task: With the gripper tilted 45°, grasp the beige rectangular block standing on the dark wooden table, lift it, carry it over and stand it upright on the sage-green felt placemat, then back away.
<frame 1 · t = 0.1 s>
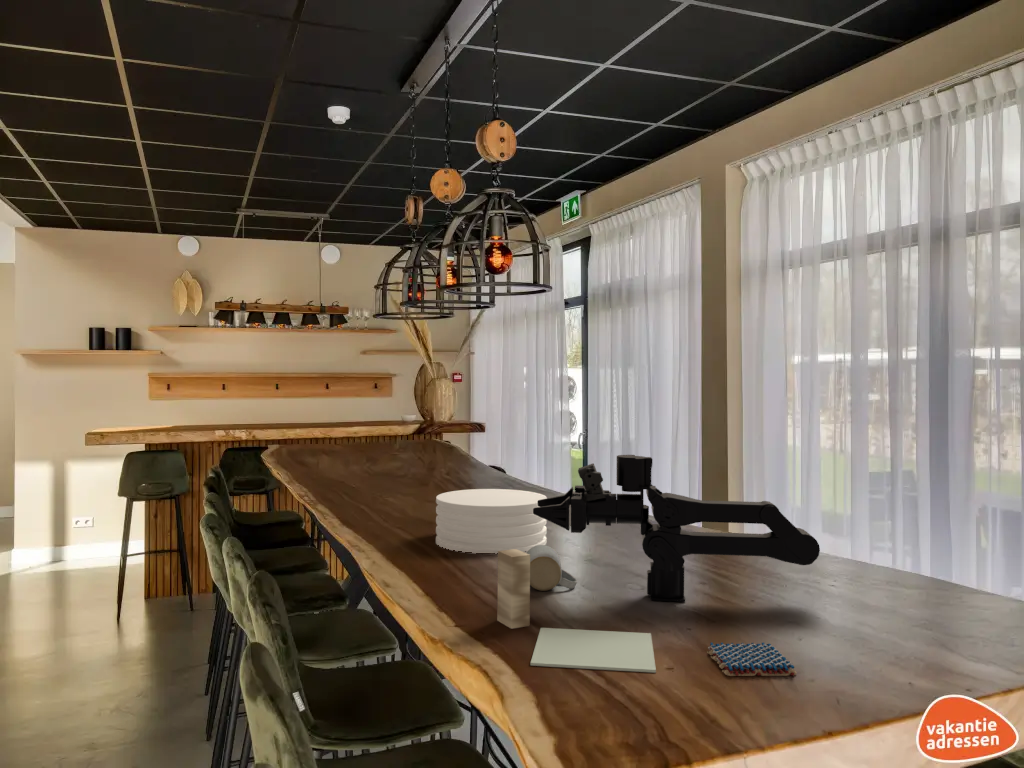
hand: (535, 506, 153), 17 cm above the table, tool horizontal, fingers open, 9 cm apart
beige rectangular block: (513, 623, 134), on the table
woven mat: (749, 667, 116), on the table
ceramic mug: (549, 587, 157), on the table
plate stack: (491, 542, 199), on the table
sage placemat: (594, 649, 121), on the table
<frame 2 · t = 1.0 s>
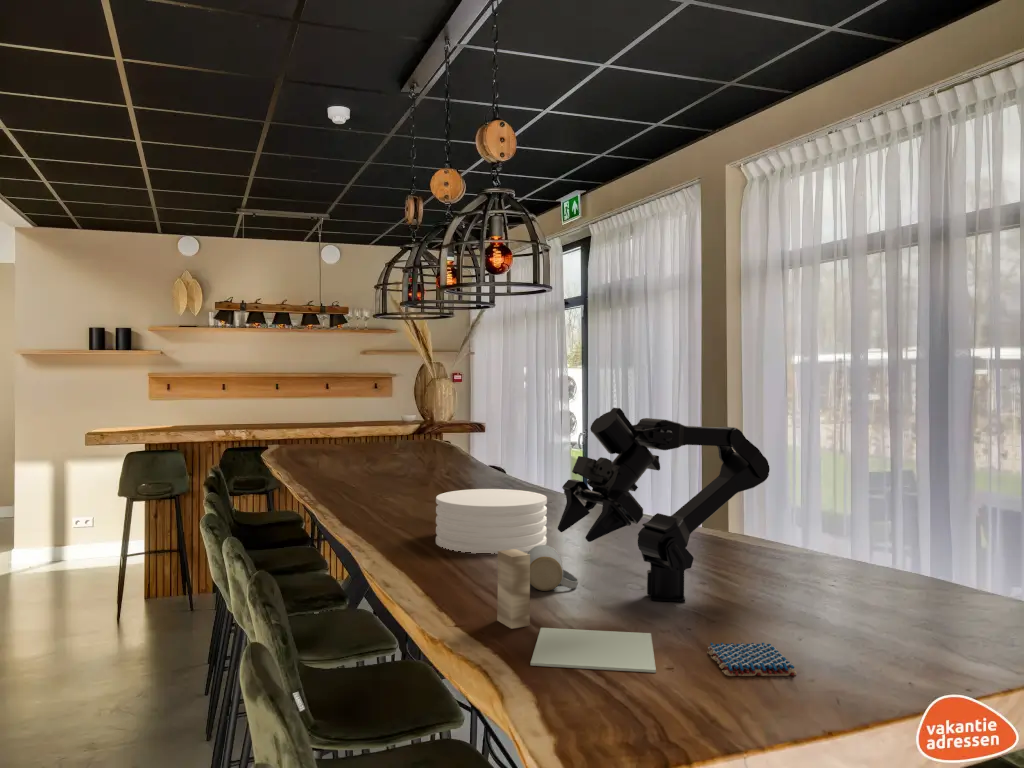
hand: (572, 535, 140), 14 cm above the table, tool tilted 45°, fingers open, 9 cm apart
nothing on the table moved.
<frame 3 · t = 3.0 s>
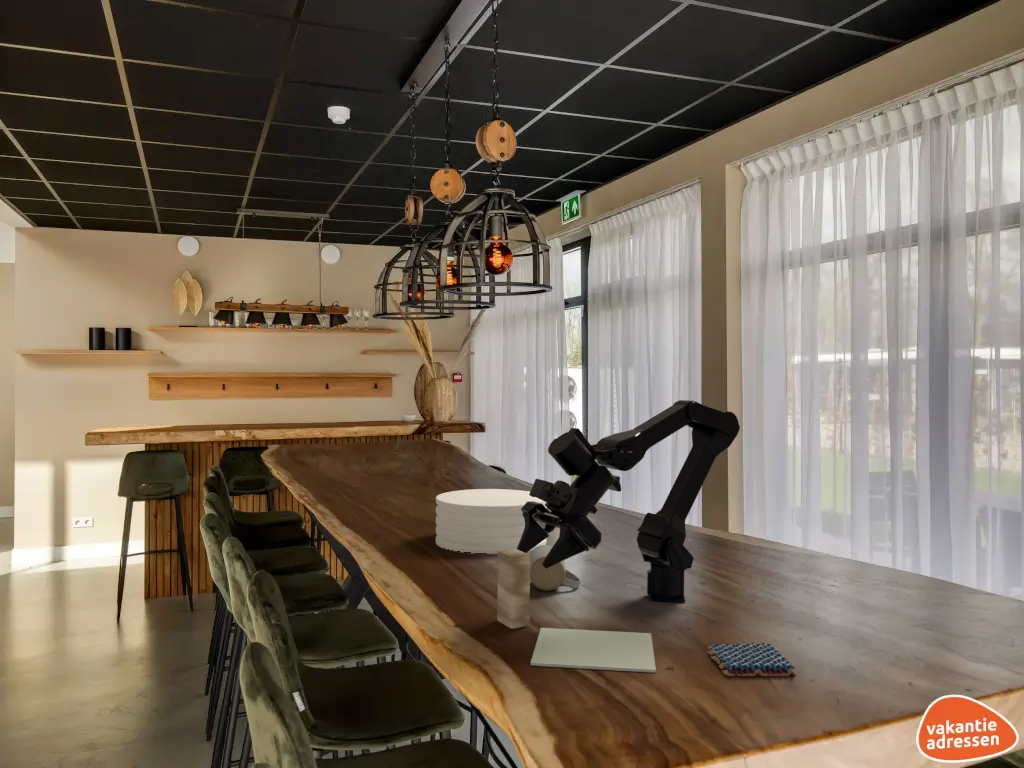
hand: (530, 560, 135), 10 cm above the table, tool tilted 45°, fingers open, 9 cm apart
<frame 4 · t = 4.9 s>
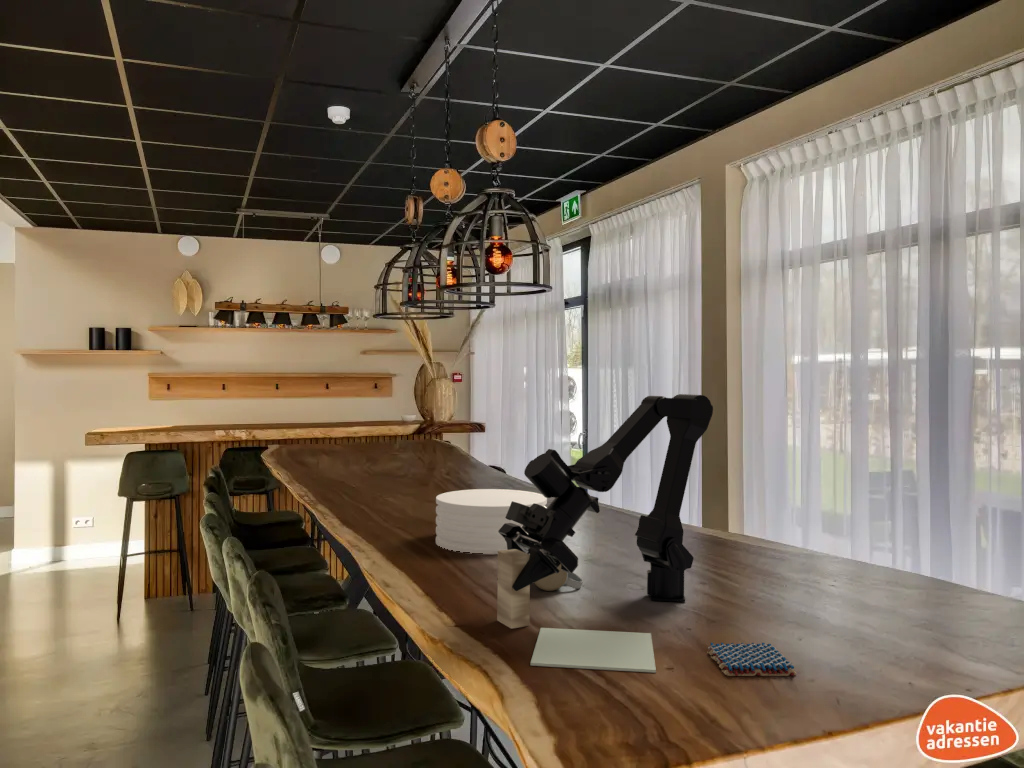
hand: (506, 585, 133), 7 cm above the table, tool tilted 45°, fingers closed on beige rectangular block, 5 cm apart
beige rectangular block: (513, 623, 134), on the table, touching gripper
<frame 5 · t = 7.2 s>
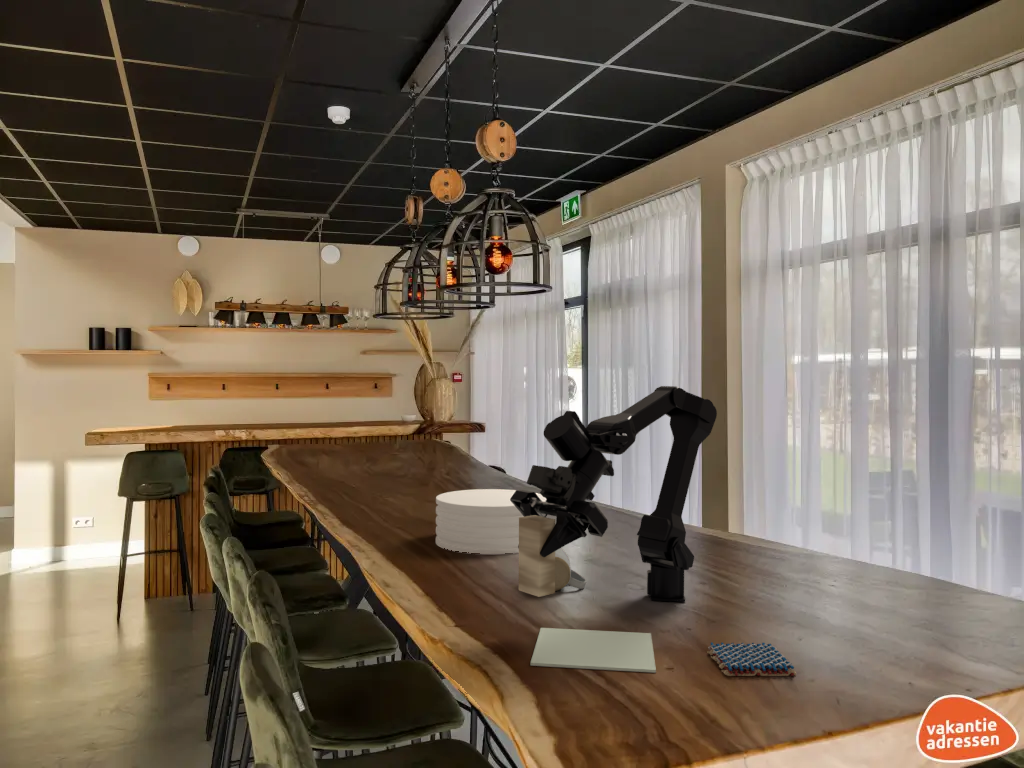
hand: (530, 552, 127), 14 cm above the table, tool tilted 45°, fingers closed on beige rectangular block, 5 cm apart
beige rectangular block: (536, 591, 128), point 7 cm above the table, touching gripper
when the fingers open (9 cm above the table, at t = 9.7 s): beige rectangular block drops 2 cm, resting on sage placemat.
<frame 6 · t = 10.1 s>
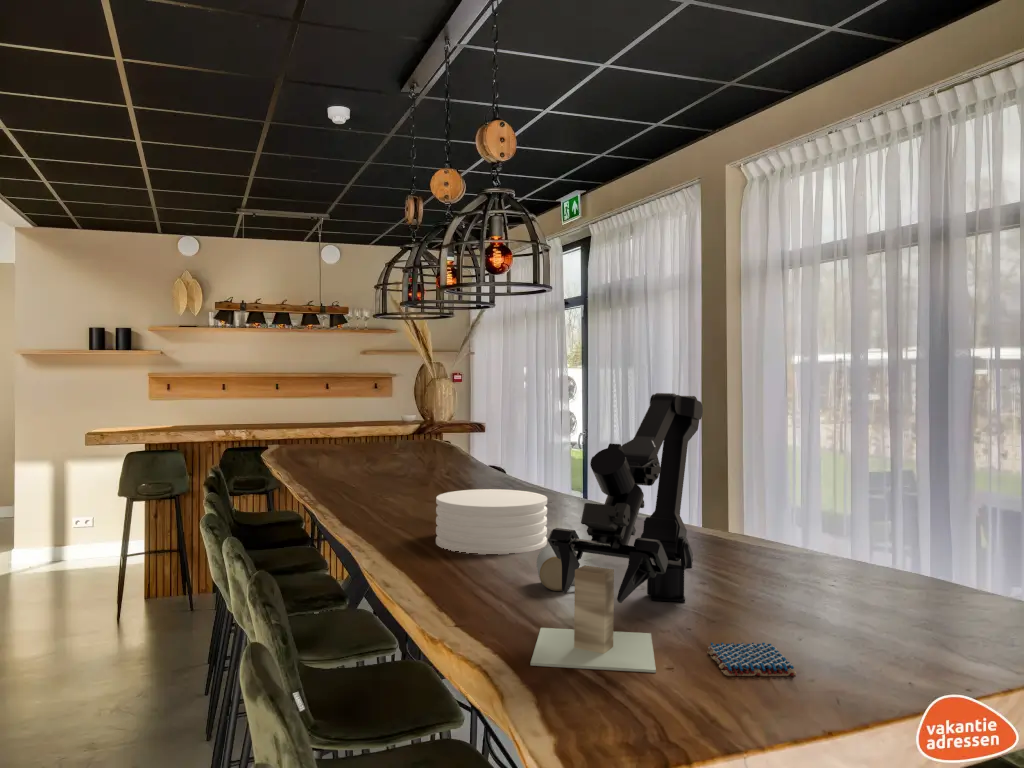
hand: (590, 596, 120), 9 cm above the table, tool tilted 45°, fingers open, 9 cm apart
beige rectangular block: (593, 647, 121), resting on sage placemat
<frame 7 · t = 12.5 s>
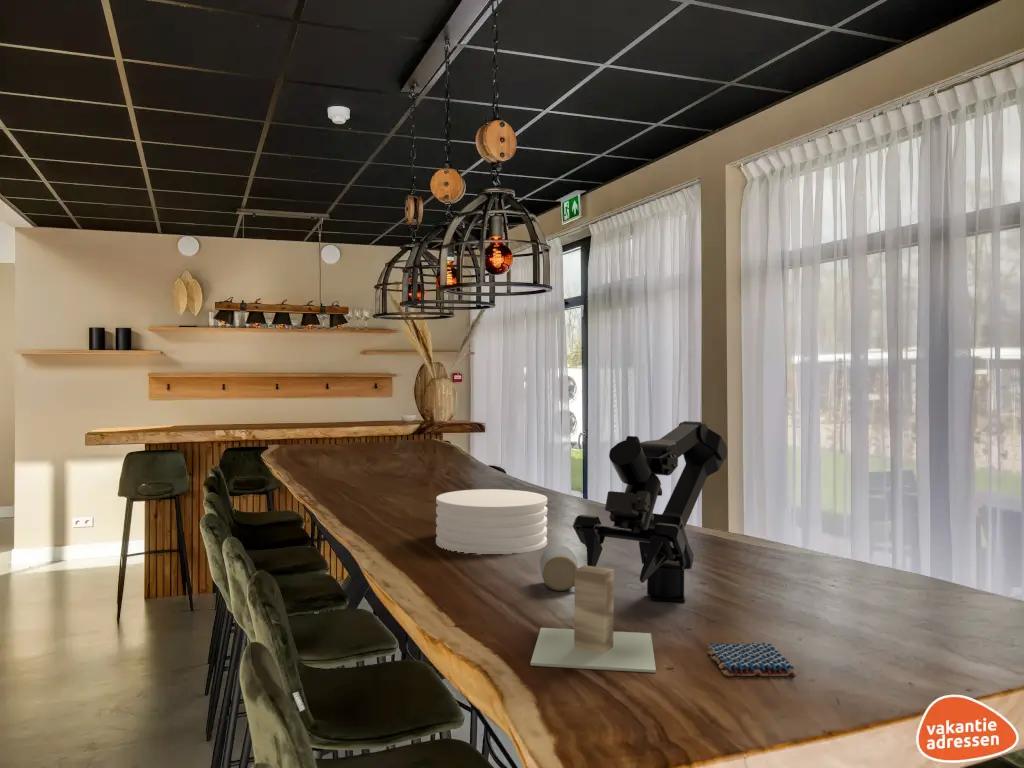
hand: (614, 577, 130), 9 cm above the table, tool tilted 45°, fingers open, 9 cm apart
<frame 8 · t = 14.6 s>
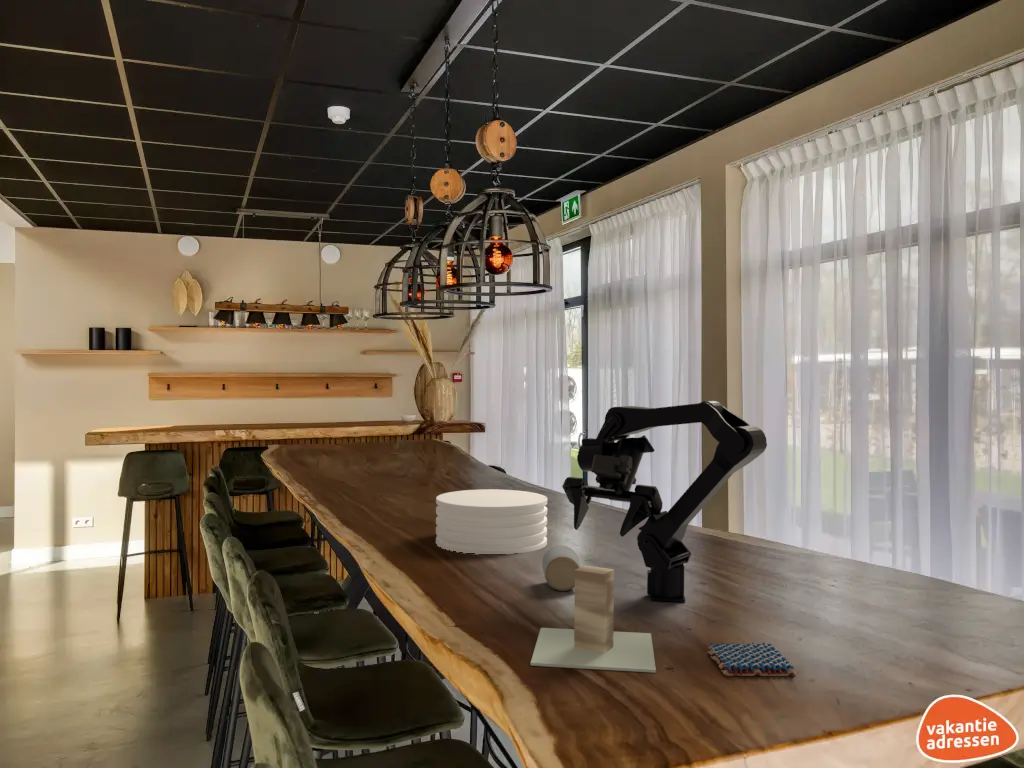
hand: (597, 531, 145), 13 cm above the table, tool tilted 45°, fingers open, 9 cm apart
at the end: beige rectangular block inside the target area on the sage placemat (0.1 cm from its centre), point 0.4 cm above the sage placemat's base; beige rectangular block tilted 0°; the gripper is holding nothing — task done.
